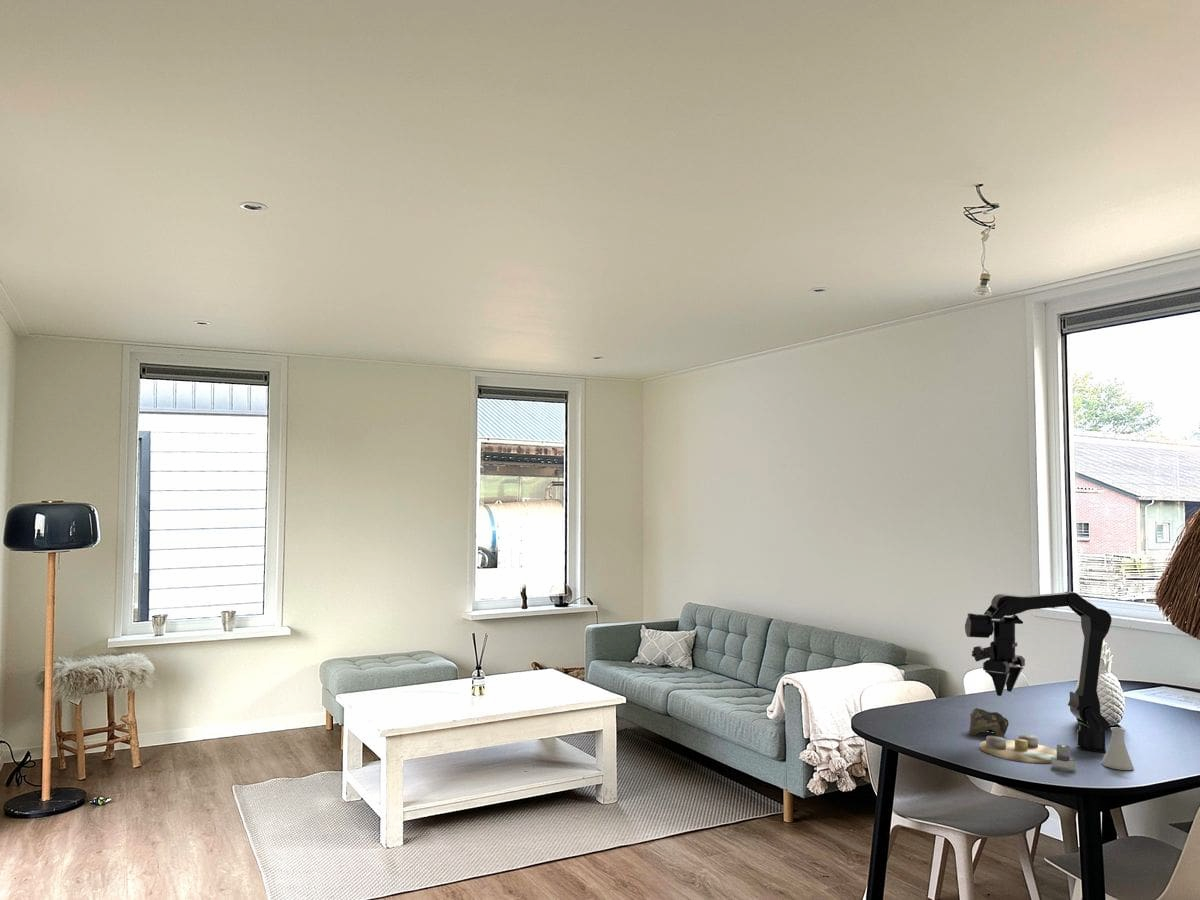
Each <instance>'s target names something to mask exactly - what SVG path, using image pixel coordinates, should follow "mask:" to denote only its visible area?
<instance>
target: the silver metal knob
mask: <svg viewBox="0 0 1200 900" xmlns="http://www.w3.org/2000/svg"><path fill="white" fill-rule="evenodd" d="M1070 749H1071V747H1070V745H1067V744H1063V743H1061V744H1060V743H1057V744H1056V750H1057V757H1051V763H1050V769H1052V770H1053V771H1057V772H1061V771H1063V772H1062V773H1075V772H1076V760H1074V759H1072V758H1071V755H1070V754H1071V753H1070V752H1071V751H1070Z"/></svg>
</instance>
